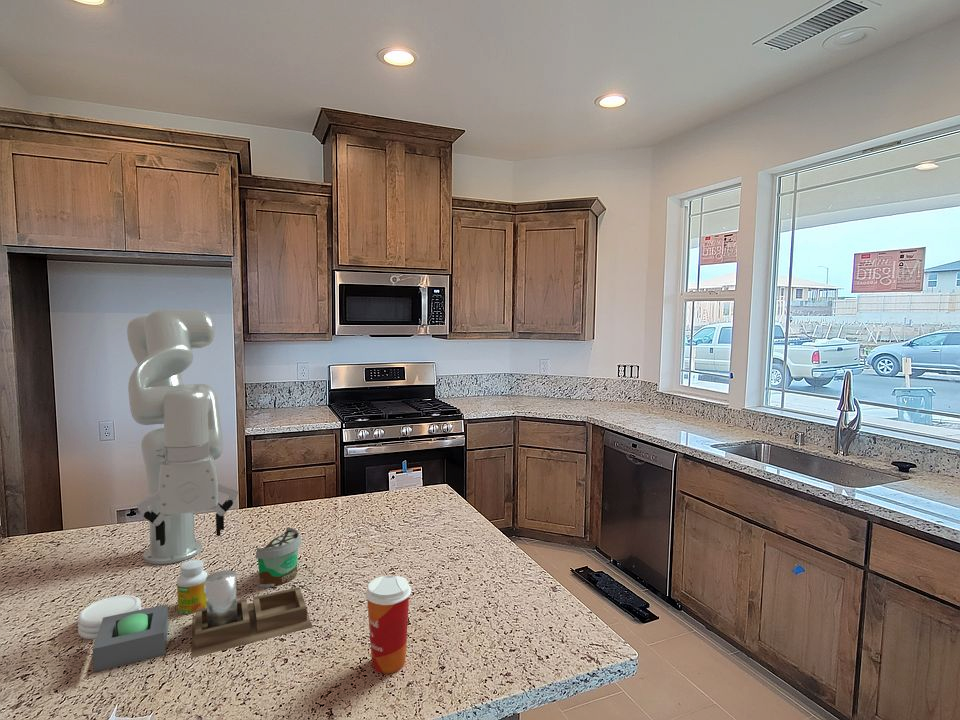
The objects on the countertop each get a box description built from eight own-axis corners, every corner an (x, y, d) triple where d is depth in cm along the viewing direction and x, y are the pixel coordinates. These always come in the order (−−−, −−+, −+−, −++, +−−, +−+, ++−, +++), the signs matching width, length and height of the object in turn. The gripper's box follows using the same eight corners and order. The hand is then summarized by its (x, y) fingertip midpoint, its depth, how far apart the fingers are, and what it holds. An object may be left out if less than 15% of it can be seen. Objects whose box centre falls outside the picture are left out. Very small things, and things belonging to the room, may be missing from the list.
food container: (282, 597, 111) (281, 551, 110) (256, 594, 112) (255, 549, 111) (312, 570, 123) (311, 528, 122) (288, 567, 124) (287, 526, 123)
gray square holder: (104, 644, 95) (103, 617, 94) (168, 629, 99) (167, 603, 99) (94, 678, 86) (92, 649, 85) (165, 660, 90) (164, 632, 90)
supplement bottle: (173, 619, 102) (171, 571, 102) (183, 605, 108) (181, 559, 107) (203, 617, 103) (202, 569, 103) (212, 602, 109) (210, 557, 108)
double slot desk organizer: (193, 621, 102) (192, 603, 102) (300, 596, 111) (300, 580, 111) (191, 663, 90) (190, 644, 89) (312, 632, 99) (312, 614, 98)
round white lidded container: (141, 630, 99) (140, 612, 99) (74, 647, 94) (73, 628, 94) (142, 605, 108) (141, 589, 107) (81, 619, 103) (80, 602, 102)
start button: (120, 641, 93) (119, 617, 93) (149, 634, 95) (148, 611, 95) (116, 655, 89) (115, 630, 89) (147, 648, 92) (146, 623, 91)
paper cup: (368, 650, 94) (368, 574, 93) (412, 648, 94) (412, 572, 93) (362, 680, 86) (362, 598, 85) (410, 677, 87) (410, 596, 85)
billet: (207, 624, 99) (205, 573, 98) (236, 618, 101) (235, 568, 101) (207, 639, 95) (205, 586, 94) (238, 632, 97) (236, 579, 96)
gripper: (132, 462, 95) (137, 554, 97) (237, 451, 103) (240, 536, 104) (137, 453, 102) (141, 540, 103) (235, 444, 110) (238, 524, 111)
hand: (191, 538), depth 104 cm, fingers open, 9 cm apart
